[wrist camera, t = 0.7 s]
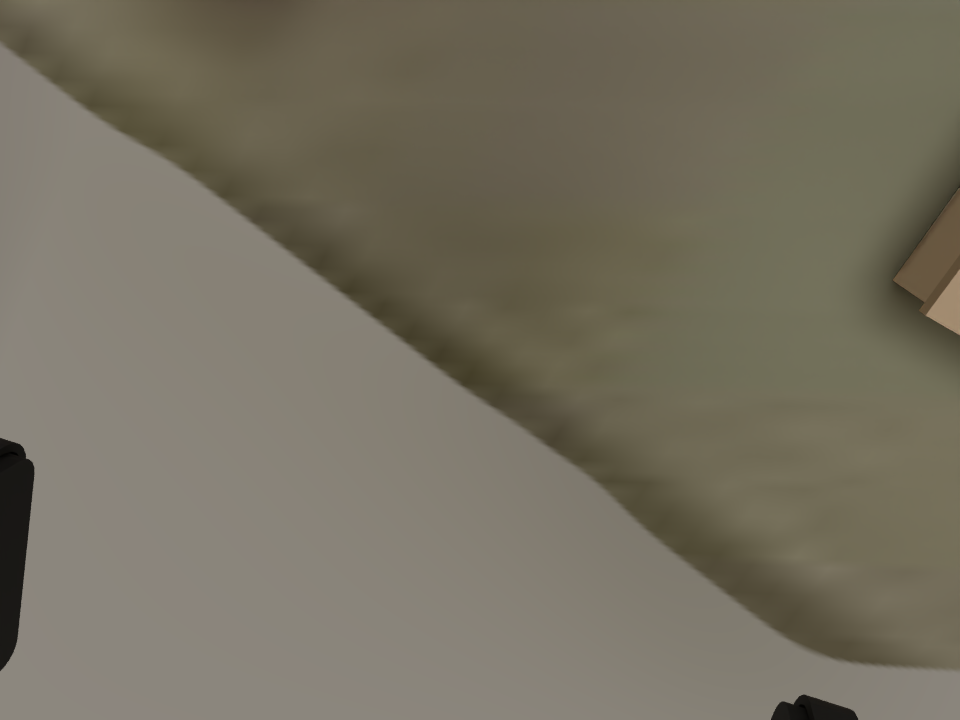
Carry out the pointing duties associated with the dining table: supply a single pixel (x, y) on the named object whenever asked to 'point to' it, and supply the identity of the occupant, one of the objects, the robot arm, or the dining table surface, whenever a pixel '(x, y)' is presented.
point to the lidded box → (933, 253)
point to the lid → (946, 300)
